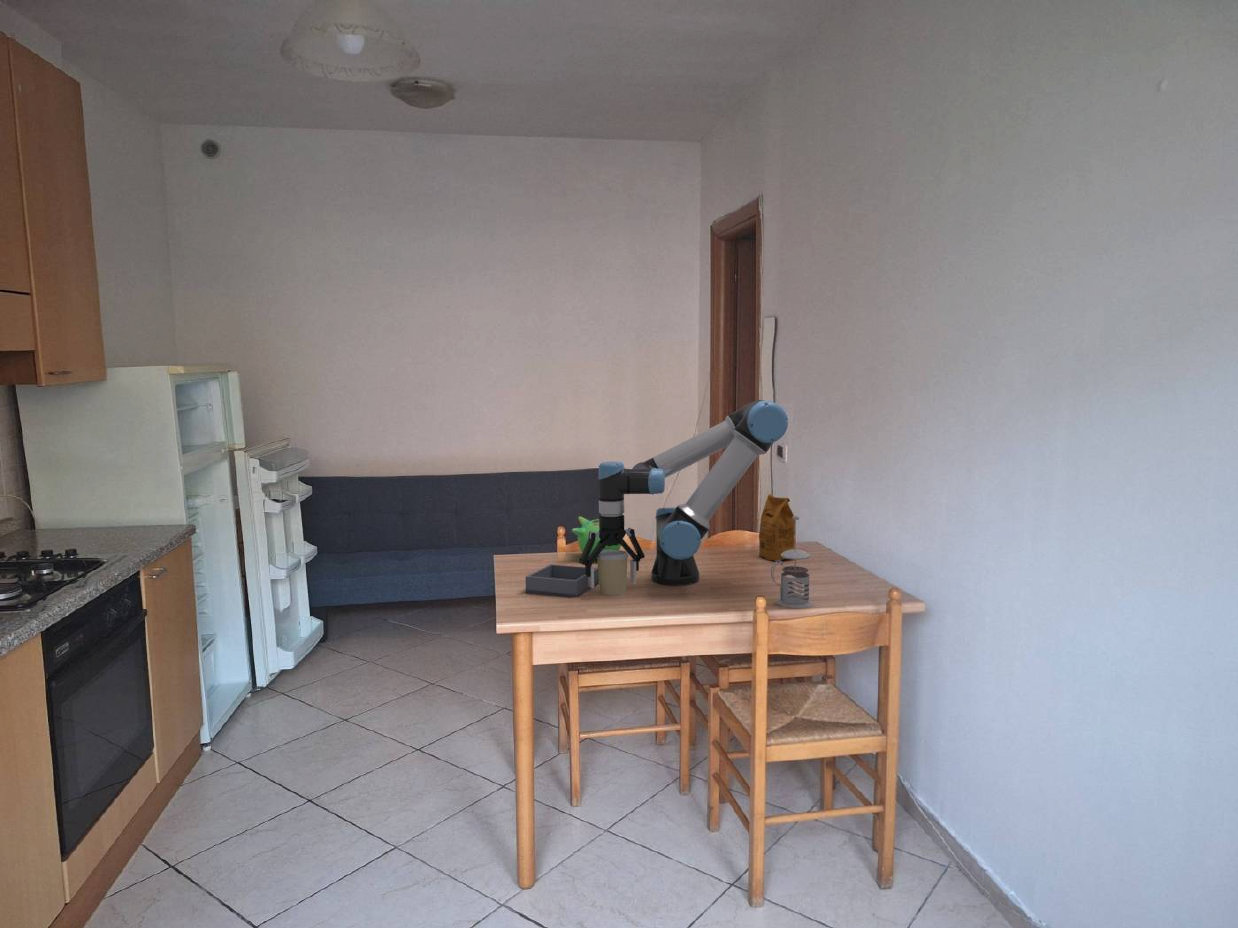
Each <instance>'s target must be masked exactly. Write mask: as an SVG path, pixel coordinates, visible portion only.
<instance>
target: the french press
mask: <svg viewBox="0 0 1238 928" xmlns="http://www.w3.org/2000/svg"><path fill="white" fill-rule="evenodd" d="M793 515H794V514H793ZM792 519H793V520H795V549H791V550H788V551H784V552H783V553H782V554H781V557H783V558H785V559H784V560H793V561H794V565H789V566H784V562H783V560H778V561H774V563H773V564H772V566H771V567H770V568H771V569H770V577H771V579H772V581H773V583H774V584H775V585H776V586H778V587H779V588H780V589H779V591H780V593H779V597H780V598H779V599H778V600H777V604H778V605H780V606H782V607H785V608H791V609H803V608H805V609H806V608H809V607H812V606H813V602H812V601H811V600H810V574H809V573H808V572H809V568H807V567H804V566H796V564H797V563H796V561H798V560H807V559H810V557H811V555H810V554H809V553H808V552H807V551H804V550H803V549H797V548H796V546H797V544H796V542H797V537H796V536H797V533H796V531H797V528H796V527H797V521H799V520H800V516H799V515H797V514H796V515H794V516H793V517H792ZM778 564H780V566H781V567H783V568H781V569H782V571H783V572H782V573H781V575H780V584H779V583H778V582H776V580H775V577H774V576H773V575H774V571H775V569H776V567H777V566H778ZM788 576H789V577H788ZM790 576H791V577H790ZM794 582H795V583H794ZM795 587H796V588H795Z"/></svg>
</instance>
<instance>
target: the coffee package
mask: <svg viewBox="0 0 1238 928" xmlns="http://www.w3.org/2000/svg"><path fill="white" fill-rule="evenodd" d="M789 502H791V500H790V498H789V497H775V496H774V495H772V494H771V493H769V494H768V496H767V498H766V501H765V504H764V507H763V509H762V513H761V516H760V517H761V518H760V524H759V534H758V542H759V543H758V544H759V548H758V551H759V552H758V556H759V557H762V558H764V559H766V560H767V559H769V560H768V561H772V560H773V561H772V562H776V561H778V560H781V561H783V560H786V559H785V558H783V557H781V554H782V553H783V552H784V551H788V550H791V549H795V520H793V519H792V517H793V516H794V513H793V511H792V509H791V507H790V504H789ZM778 562H779V561H778Z"/></svg>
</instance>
